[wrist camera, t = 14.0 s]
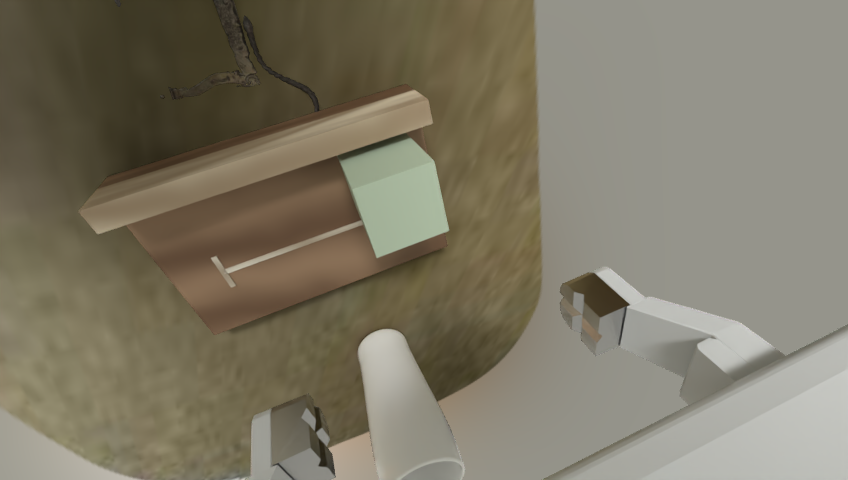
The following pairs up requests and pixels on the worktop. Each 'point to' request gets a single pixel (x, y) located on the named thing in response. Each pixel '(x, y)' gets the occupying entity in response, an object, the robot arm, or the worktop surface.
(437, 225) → the block
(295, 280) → the walnut board
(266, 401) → the worktop surface
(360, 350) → the drinking glass
